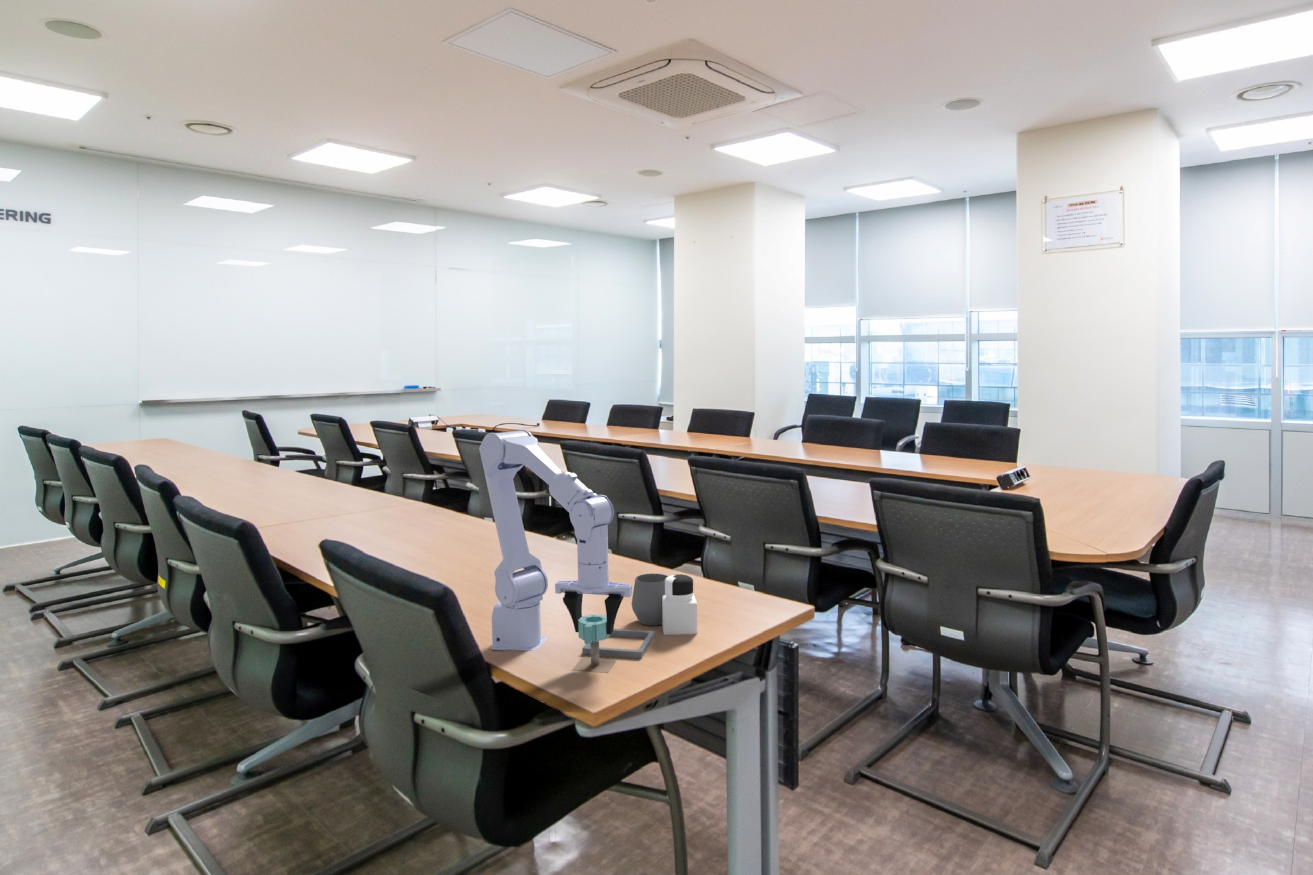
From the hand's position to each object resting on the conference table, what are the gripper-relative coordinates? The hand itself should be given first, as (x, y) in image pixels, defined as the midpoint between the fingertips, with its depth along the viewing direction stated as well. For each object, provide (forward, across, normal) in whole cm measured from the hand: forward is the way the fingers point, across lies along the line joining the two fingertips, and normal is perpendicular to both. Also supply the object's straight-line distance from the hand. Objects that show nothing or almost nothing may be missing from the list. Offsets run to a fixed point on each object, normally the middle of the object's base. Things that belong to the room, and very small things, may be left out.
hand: (594, 631), depth 144 cm
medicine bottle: (+7, +12, +22) cm, 27 cm away
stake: (+7, 0, 0) cm, 7 cm away
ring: (+1, 0, 0) cm, 1 cm away
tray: (+7, +2, +10) cm, 13 cm away
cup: (+7, +5, +28) cm, 29 cm away
